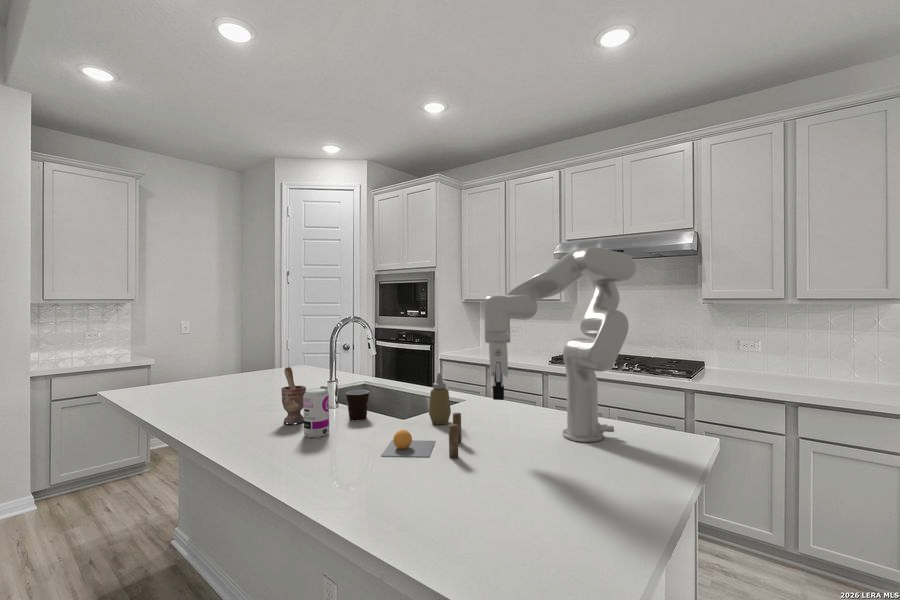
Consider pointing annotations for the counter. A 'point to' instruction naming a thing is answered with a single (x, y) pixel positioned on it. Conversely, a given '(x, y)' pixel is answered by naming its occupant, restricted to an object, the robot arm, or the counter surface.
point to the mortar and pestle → (292, 399)
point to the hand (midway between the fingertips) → (498, 399)
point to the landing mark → (410, 449)
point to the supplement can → (316, 412)
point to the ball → (402, 439)
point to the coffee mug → (357, 404)
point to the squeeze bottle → (439, 402)
